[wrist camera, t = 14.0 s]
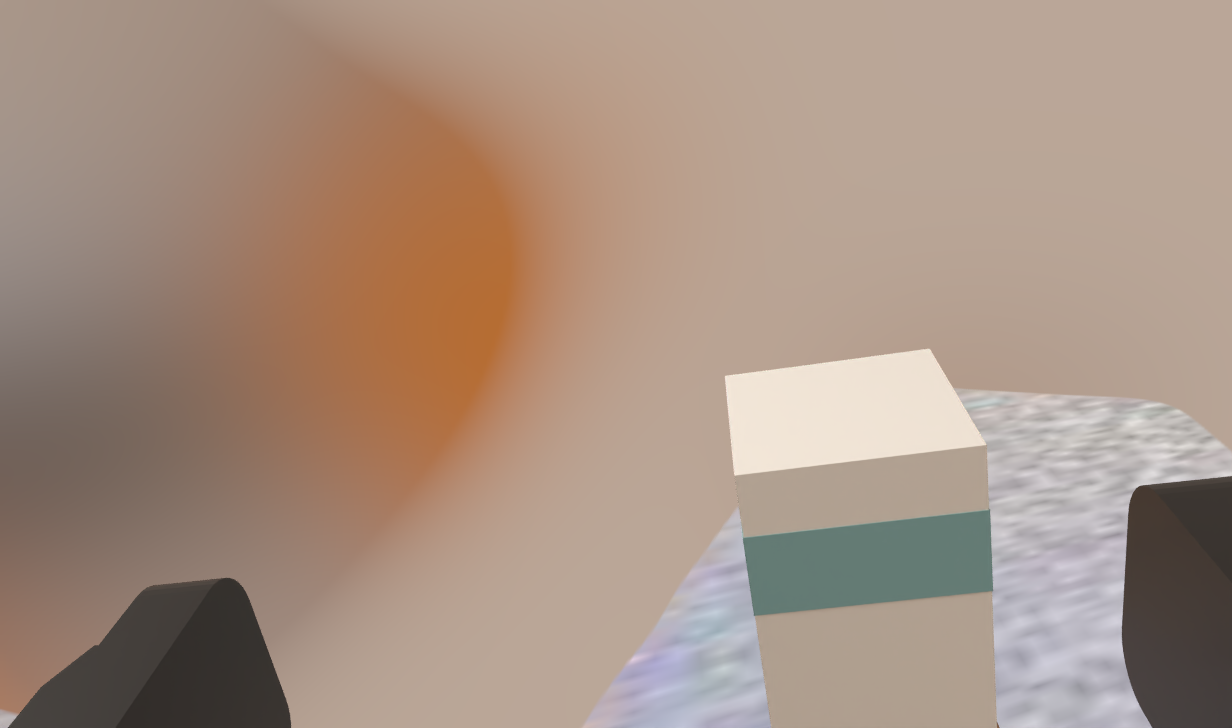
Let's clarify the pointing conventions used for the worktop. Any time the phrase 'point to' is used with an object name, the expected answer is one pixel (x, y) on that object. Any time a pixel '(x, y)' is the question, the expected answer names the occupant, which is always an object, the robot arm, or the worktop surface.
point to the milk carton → (866, 543)
